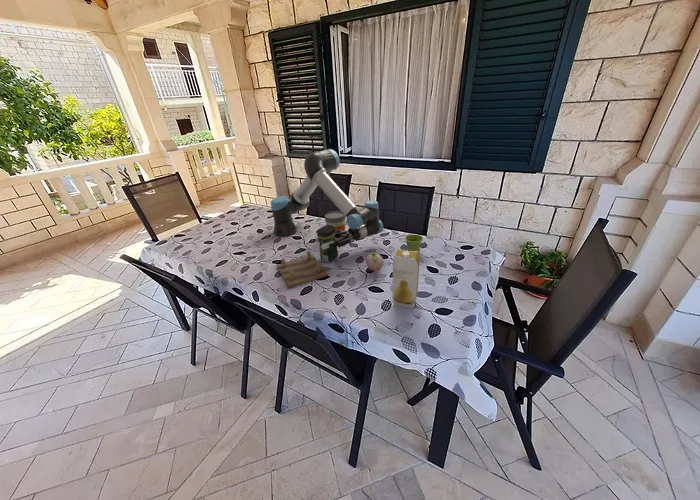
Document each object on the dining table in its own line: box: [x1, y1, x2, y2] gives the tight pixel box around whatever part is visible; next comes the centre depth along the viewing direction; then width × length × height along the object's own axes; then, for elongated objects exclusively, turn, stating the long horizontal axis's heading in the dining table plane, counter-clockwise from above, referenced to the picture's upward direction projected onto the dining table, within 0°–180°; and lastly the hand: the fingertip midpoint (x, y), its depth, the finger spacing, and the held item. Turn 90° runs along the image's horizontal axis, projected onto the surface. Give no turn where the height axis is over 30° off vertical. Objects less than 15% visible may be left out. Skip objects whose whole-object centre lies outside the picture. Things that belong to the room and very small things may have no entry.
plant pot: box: [404, 233, 424, 254], centre depth 144 cm, size 9×9×9 cm
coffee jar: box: [316, 224, 339, 263], centre depth 142 cm, size 10×8×19 cm
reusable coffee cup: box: [324, 210, 346, 241], centre depth 166 cm, size 12×12×15 cm
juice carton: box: [392, 249, 420, 309], centre depth 105 cm, size 9×8×24 cm
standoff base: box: [276, 250, 330, 289], centre depth 135 cm, size 22×20×6 cm
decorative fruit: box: [365, 251, 385, 272], centre depth 130 cm, size 9×8×10 cm
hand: (319, 243), depth 140 cm, fingers closed on coffee jar, 8 cm apart
